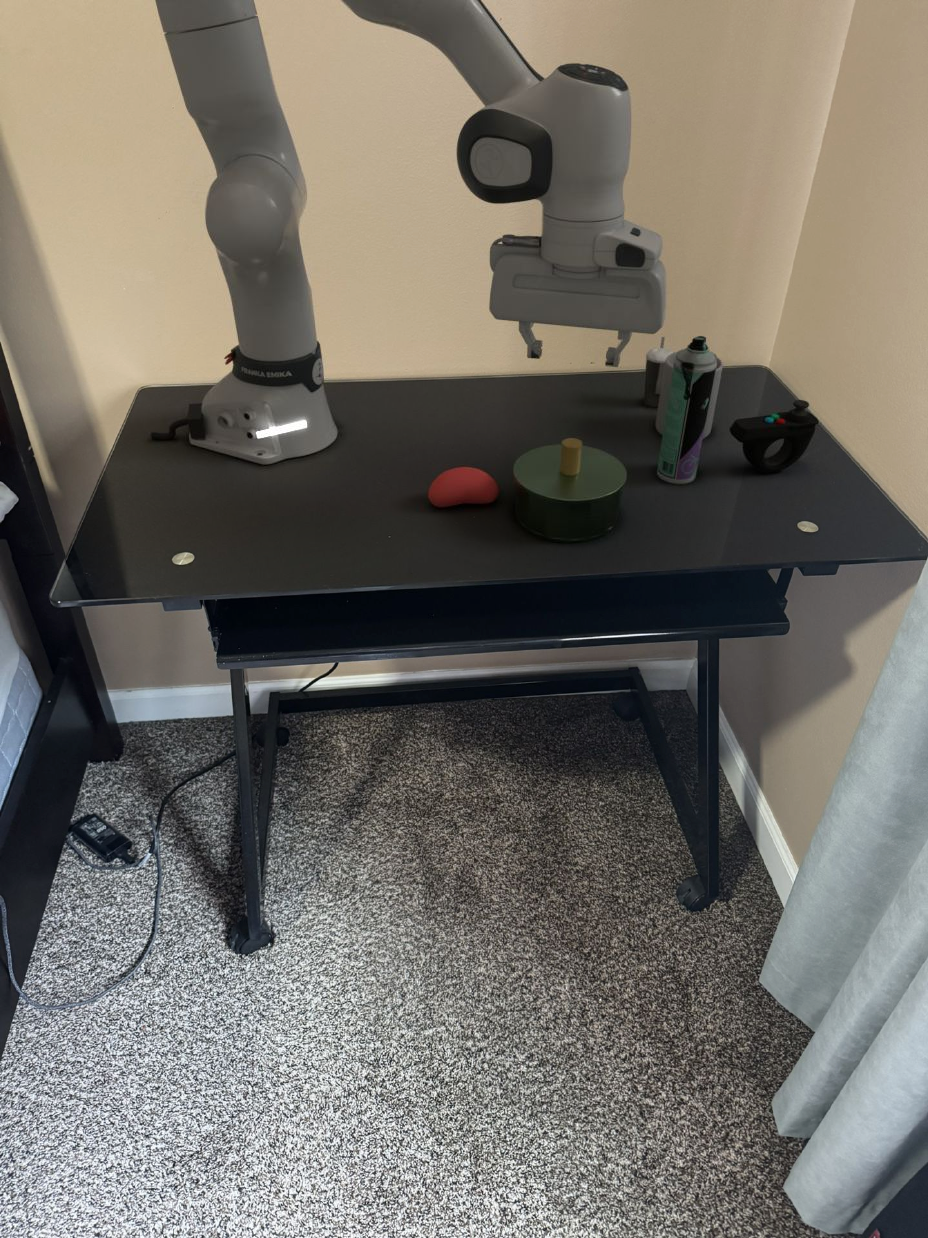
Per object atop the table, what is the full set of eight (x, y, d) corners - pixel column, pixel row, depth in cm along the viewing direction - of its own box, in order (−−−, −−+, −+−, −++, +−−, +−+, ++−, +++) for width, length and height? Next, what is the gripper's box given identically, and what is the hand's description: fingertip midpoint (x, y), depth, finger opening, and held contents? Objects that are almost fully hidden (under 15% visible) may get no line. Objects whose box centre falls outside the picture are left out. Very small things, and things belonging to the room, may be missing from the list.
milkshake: (668, 396, 146) (677, 337, 139) (667, 410, 142) (676, 350, 135) (641, 394, 147) (649, 335, 140) (638, 407, 142) (646, 347, 136)
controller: (810, 471, 126) (828, 407, 120) (731, 481, 124) (745, 416, 118) (794, 457, 129) (811, 394, 123) (717, 467, 127) (730, 403, 121)
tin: (504, 533, 114) (505, 492, 110) (528, 482, 124) (530, 443, 120) (608, 549, 111) (613, 509, 107) (624, 496, 121) (629, 457, 117)
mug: (650, 416, 140) (660, 349, 133) (703, 416, 140) (716, 349, 133) (664, 452, 131) (675, 383, 124) (721, 452, 131) (736, 382, 124)
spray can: (695, 485, 123) (722, 347, 111) (656, 481, 124) (677, 343, 111) (695, 467, 127) (721, 331, 115) (657, 463, 128) (678, 328, 116)
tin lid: (500, 498, 110) (501, 461, 107) (527, 445, 121) (529, 410, 118) (616, 516, 107) (621, 478, 104) (633, 460, 118) (638, 424, 114)
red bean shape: (438, 496, 124) (421, 469, 118) (498, 476, 121) (483, 448, 116) (442, 525, 121) (424, 499, 116) (503, 505, 119) (488, 478, 113)
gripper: (482, 240, 96) (482, 362, 105) (670, 254, 92) (654, 380, 100) (497, 225, 101) (495, 342, 110) (677, 237, 96) (661, 359, 105)
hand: (573, 360), depth 105 cm, fingers open, 8 cm apart
